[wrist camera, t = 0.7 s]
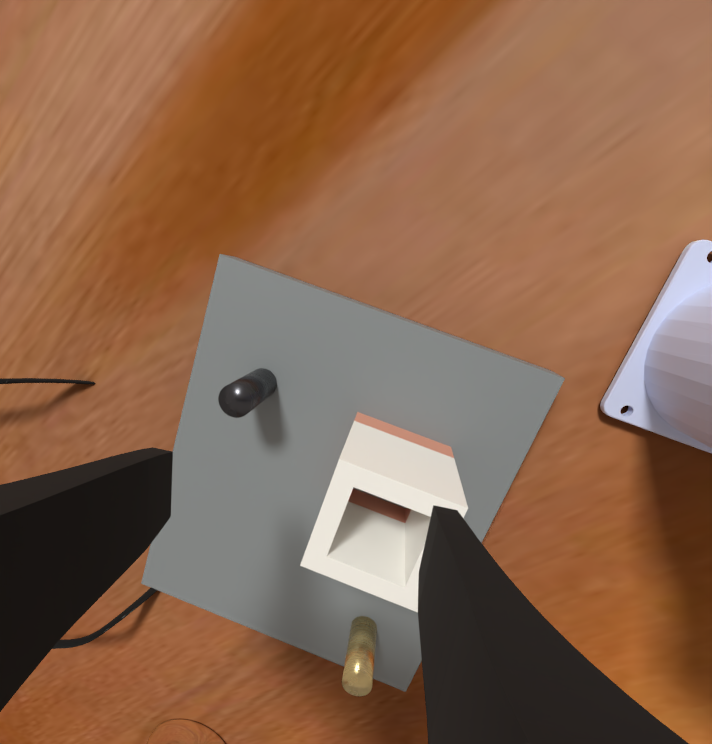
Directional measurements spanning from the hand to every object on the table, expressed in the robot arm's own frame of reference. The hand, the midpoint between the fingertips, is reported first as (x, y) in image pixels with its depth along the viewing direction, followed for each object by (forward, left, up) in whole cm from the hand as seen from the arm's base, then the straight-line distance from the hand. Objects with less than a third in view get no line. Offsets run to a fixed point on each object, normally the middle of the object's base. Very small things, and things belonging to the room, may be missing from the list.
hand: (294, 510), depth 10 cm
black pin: (+4, 0, -8) cm, 9 cm away
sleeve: (-3, +2, -8) cm, 9 cm away
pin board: (0, +4, -9) cm, 10 cm away
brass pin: (-5, +11, -8) cm, 14 cm away
